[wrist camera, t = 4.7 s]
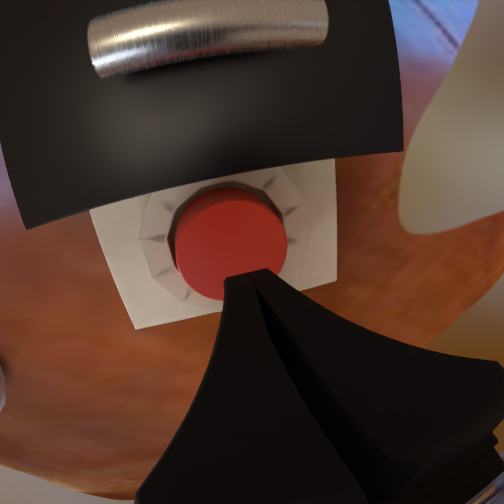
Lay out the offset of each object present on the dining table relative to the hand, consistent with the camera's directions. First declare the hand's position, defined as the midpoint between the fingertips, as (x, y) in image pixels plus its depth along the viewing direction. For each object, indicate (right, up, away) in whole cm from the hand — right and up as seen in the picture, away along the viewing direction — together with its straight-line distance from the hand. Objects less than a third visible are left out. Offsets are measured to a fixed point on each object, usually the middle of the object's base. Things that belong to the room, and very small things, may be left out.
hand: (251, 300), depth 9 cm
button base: (-1, +2, +7) cm, 7 cm away
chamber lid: (-2, +9, -2) cm, 10 cm away
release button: (-1, +2, +4) cm, 5 cm away
